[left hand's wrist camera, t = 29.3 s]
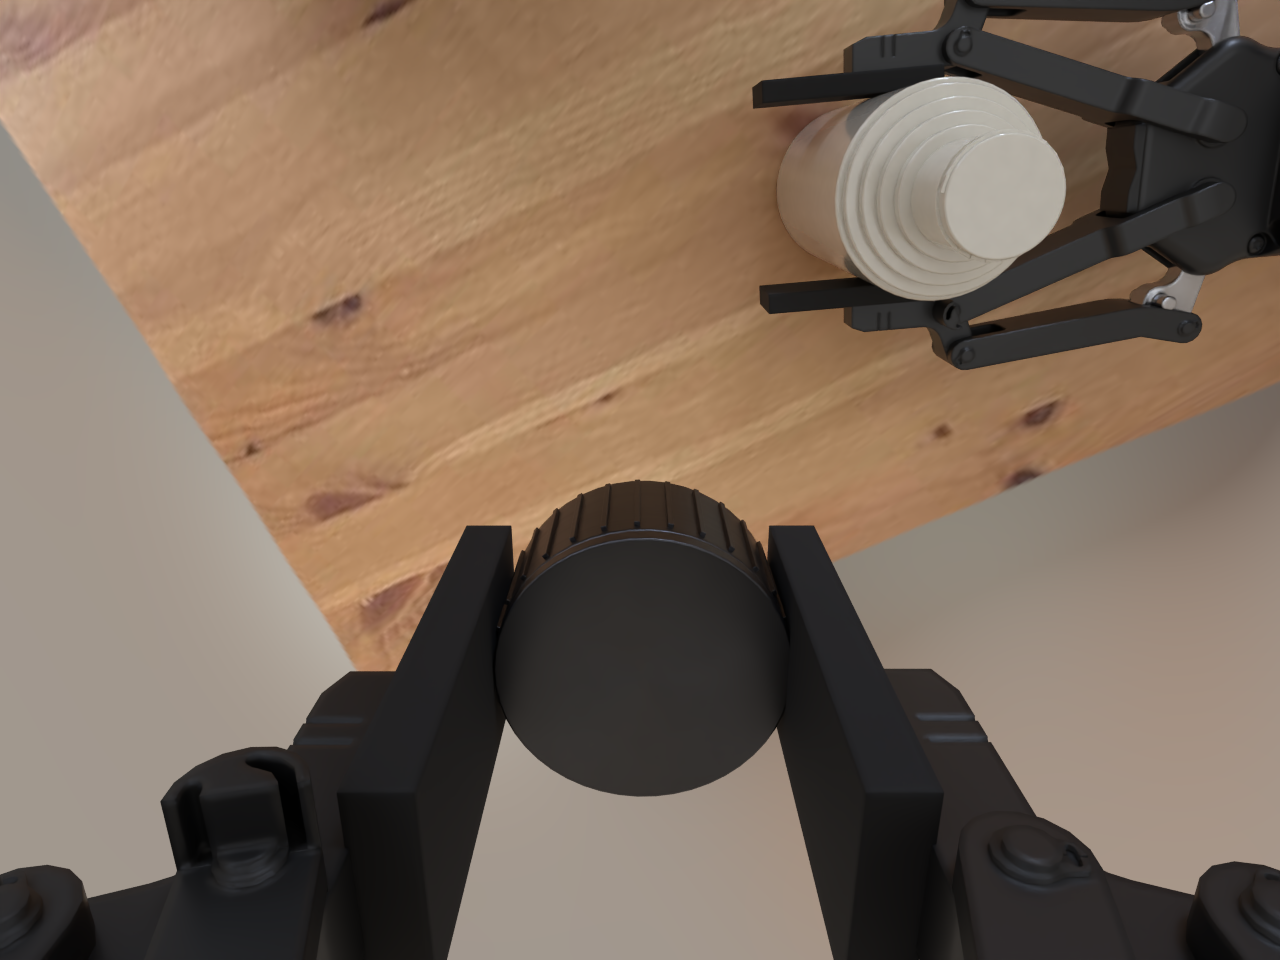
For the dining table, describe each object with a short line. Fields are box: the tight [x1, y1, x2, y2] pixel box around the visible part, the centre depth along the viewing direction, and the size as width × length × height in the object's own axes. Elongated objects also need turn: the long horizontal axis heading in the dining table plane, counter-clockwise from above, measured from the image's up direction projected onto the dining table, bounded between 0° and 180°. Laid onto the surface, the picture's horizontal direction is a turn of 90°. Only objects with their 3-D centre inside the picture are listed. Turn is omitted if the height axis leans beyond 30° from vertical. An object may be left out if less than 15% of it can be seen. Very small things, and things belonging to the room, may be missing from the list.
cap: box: [493, 480, 790, 796], centre depth 14 cm, size 4×4×2 cm
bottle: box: [777, 77, 1066, 301], centre depth 31 cm, size 7×7×18 cm
